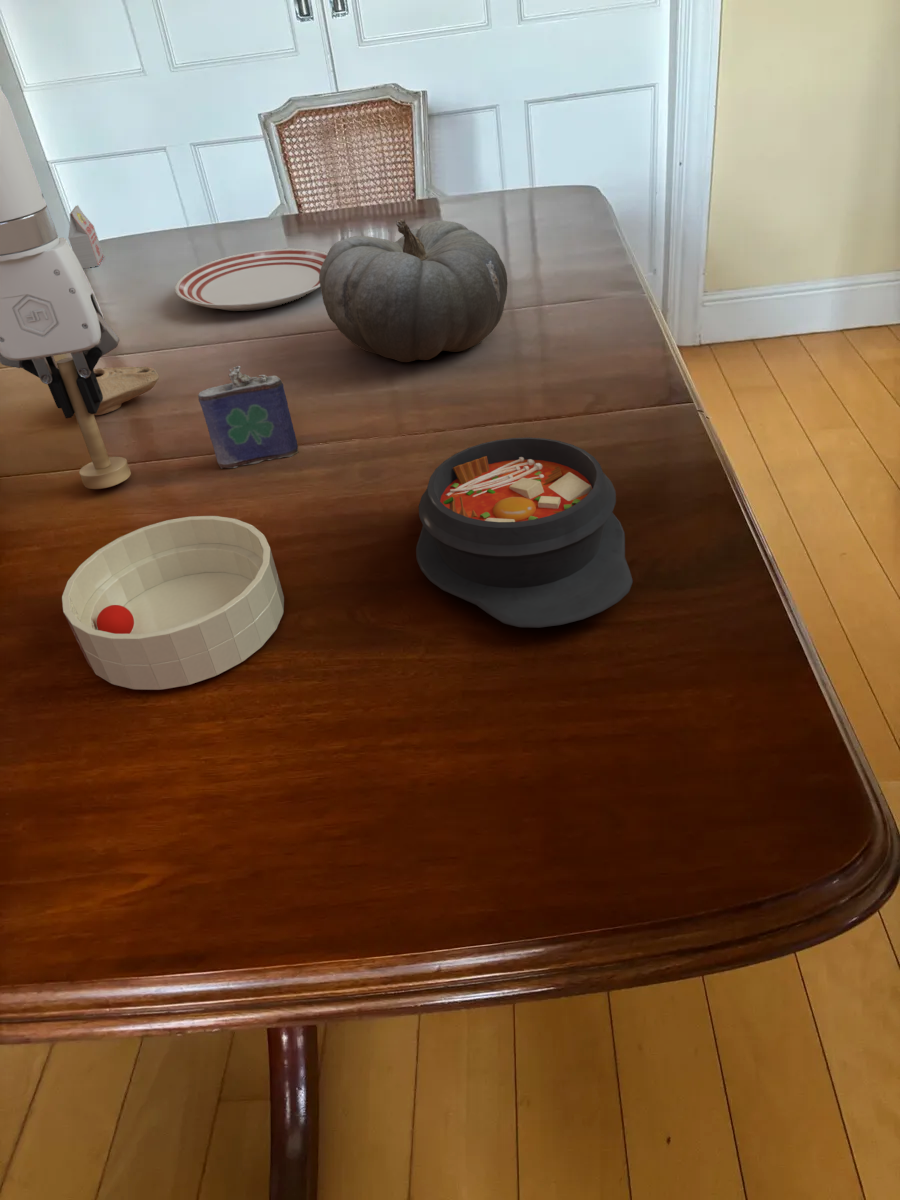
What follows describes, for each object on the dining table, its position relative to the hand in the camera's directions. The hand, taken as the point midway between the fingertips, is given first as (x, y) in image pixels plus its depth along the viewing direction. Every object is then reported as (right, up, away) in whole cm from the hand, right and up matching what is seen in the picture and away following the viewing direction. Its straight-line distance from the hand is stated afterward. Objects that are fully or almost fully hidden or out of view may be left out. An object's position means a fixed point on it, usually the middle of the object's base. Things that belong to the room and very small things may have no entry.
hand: (83, 409), depth 96 cm
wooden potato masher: (+1, -7, +4) cm, 8 cm away
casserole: (+46, -17, -15) cm, 51 cm away
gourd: (+36, +15, +28) cm, 48 cm away
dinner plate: (+8, +31, +54) cm, 63 cm away
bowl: (+17, -23, -18) cm, 33 cm away
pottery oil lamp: (-5, +5, +22) cm, 23 cm away
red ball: (+11, -22, -20) cm, 32 cm away
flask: (+18, -4, +6) cm, 19 cm away
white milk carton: (-31, +46, +80) cm, 97 cm away
